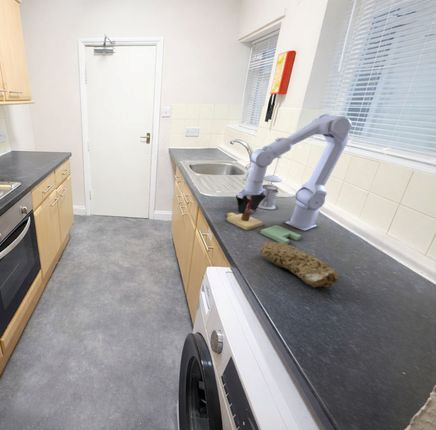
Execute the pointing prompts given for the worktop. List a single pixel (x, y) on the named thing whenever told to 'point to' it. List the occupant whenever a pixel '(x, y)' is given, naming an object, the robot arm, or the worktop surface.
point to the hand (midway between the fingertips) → (246, 211)
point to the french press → (270, 191)
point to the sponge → (300, 264)
